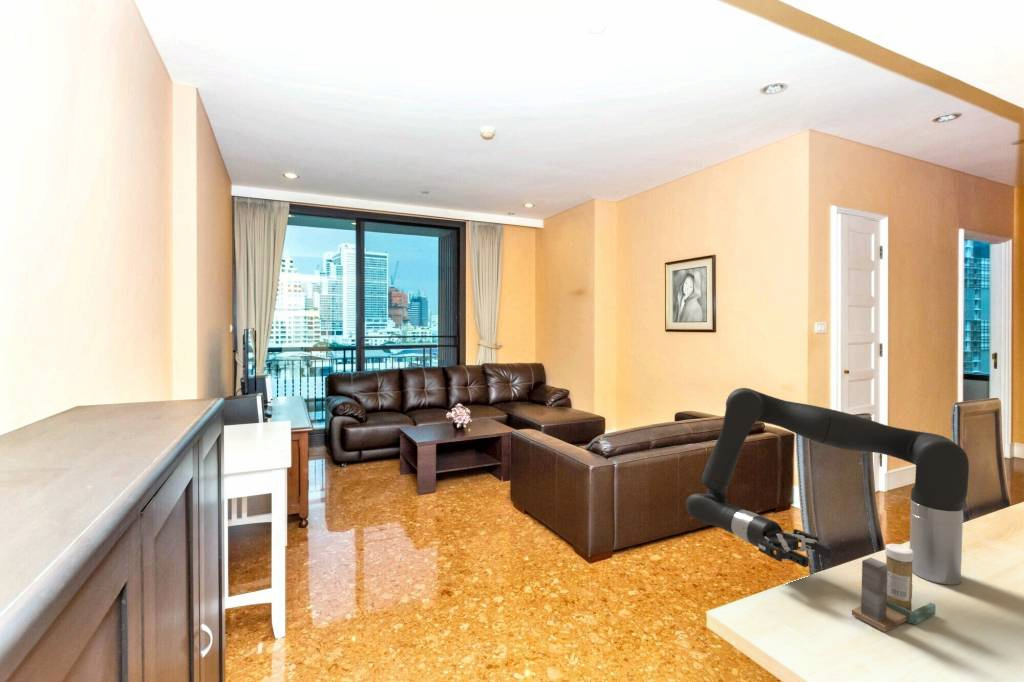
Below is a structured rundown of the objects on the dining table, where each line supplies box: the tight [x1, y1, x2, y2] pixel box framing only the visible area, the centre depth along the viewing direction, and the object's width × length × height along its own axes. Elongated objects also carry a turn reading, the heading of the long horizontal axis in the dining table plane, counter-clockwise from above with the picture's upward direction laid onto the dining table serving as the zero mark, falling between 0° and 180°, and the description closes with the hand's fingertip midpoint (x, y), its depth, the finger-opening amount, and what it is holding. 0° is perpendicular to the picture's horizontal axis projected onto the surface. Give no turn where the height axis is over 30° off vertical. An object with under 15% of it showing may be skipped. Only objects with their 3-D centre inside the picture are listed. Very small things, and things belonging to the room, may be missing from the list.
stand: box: [851, 557, 936, 633], centre depth 98 cm, size 16×9×12 cm, turn 115°
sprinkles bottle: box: [884, 543, 914, 611], centre depth 99 cm, size 5×5×13 cm
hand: (819, 558), depth 105 cm, fingers open, 8 cm apart
